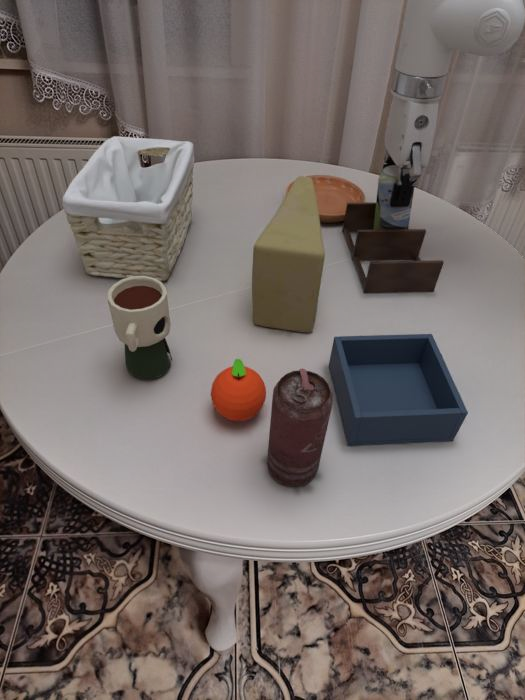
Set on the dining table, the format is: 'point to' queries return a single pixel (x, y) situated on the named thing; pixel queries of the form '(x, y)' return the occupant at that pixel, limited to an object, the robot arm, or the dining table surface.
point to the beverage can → (384, 212)
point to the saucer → (334, 196)
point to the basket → (132, 207)
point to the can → (298, 426)
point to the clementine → (238, 392)
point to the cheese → (289, 263)
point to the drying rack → (388, 254)
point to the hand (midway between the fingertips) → (393, 195)
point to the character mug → (142, 324)
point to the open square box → (394, 390)
